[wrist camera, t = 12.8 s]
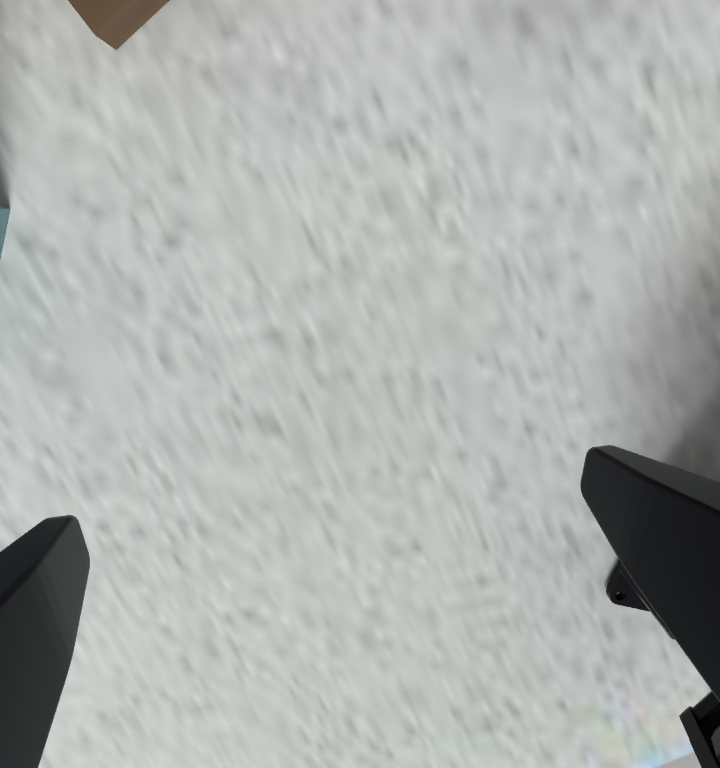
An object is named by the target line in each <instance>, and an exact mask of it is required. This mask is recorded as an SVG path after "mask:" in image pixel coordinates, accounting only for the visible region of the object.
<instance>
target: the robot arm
mask: <svg viewBox="0 0 720 768" xmlns="http://www.w3.org/2000/svg"><path fill="white" fill-rule="evenodd" d="M581 492H582V495H583V497H584V499H585V501H586V503H587V505H588V506H589V508H590V510H591V512H592V513H593V515H594V517H595V518H596V520H597V522H598V524H599V525H600V527H601V529H602V531H603V532H604V534H605V536H606V538H607V539H608V541H609V543H610V545H611V546H612V548H613V550H614V552H615V553H616V555H617V557H618V558H619V560H620V561H621V562H620V564H619V566H618V567H617V569H616V571H615V573H614V575H613V577H612V579H611V581H610V583H609V585H608V586H607V589H606V594H607V596H608V597H609V599H610V600H611V601H612V602H613V603H614V604H617V605H622V606H627V607H631V608H636V609H641V610H645V611H650V612H651V613H652V614H653V616H654V617H655V618H656V620H657V621H658V622H659V623H660V625H661V626H662V627H663V629H664V630H665V631H666V633H667V634H668V635H669V636H670V637H671V638H672V639H675V640H676V641H677V643H678V644H679V645H680V647H681V648H682V650H683V651H684V652H685V654H686V655H687V657H688V658H689V659H690V661H691V662H692V664H693V665H694V666H695V668H696V669H697V671H698V672H699V673H700V675H701V676H702V678H703V679H704V680H705V682H706V683H707V685H708V686H709V687H710V689H711V690H712V691H711V692H710V693H708V694H707V695H706V696H705V697H704V698H703V699H702V700H701V701H700V702H698V703H697V704H696V705H695V706H694V707H691V706H689V707H688V708H687V709H686V710H685V711H684V712H683V713H682V714H681V715H680V719H681V721H682V723H683V726H684V728H685V730H686V732H687V735H688V737H689V740H690V743H691V745H692V747H693V749H694V752H695V754H696V756H697V758H698V760H699V762H700V765H701V767H702V768H720V483H719V482H716V481H713V480H710V479H708V478H705V477H702V476H699V475H696V474H693V473H690V472H687V471H685V470H682V469H679V468H676V467H673V466H670V465H667V464H664V463H662V462H659V461H656V460H653V459H650V458H647V457H644V456H641V455H639V454H636V453H633V452H630V451H627V450H624V449H621V448H619V447H616V446H612V445H606V446H599V447H592V448H591V449H589V450H588V452H587V454H586V458H585V463H584V468H583V473H582V478H581ZM89 568H90V557H89V552H88V549H87V546H86V543H85V540H84V537H83V533H82V530H81V527H80V524H79V521H78V520H77V518H76V517H74V516H72V515H67V516H59V517H51V518H47V519H45V520H43V521H42V522H40V523H39V524H37V525H36V526H35V527H33V528H32V529H31V530H29V531H28V532H27V533H25V534H24V535H23V536H21V537H20V538H18V539H17V540H16V541H14V542H13V543H12V544H10V545H9V546H8V547H6V548H5V549H4V550H2V551H1V552H0V768H38V766H39V763H40V760H41V757H42V753H43V750H44V747H45V744H46V741H47V738H48V734H49V731H50V728H51V725H52V722H53V719H54V715H55V712H56V709H57V706H58V703H59V699H60V696H61V693H62V690H63V687H64V684H65V680H66V677H67V674H68V670H69V667H70V663H71V660H72V655H73V651H74V646H75V641H76V636H77V631H78V626H79V620H80V615H81V610H82V605H83V600H84V595H85V589H86V584H87V579H88V574H89ZM618 592H620V593H618ZM617 593H618V594H617Z"/></svg>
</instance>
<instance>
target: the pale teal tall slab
mask: <svg viewBox="0 0 720 768" xmlns="http://www.w3.org/2000/svg"><path fill="white" fill-rule="evenodd" d="M9 212H10V209H9V208H6V207H4V206H1V205H0V258H1V253H2V248H3V242H4V237H5V232H6V227H7V222H8V217H9Z"/></svg>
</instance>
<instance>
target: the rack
mask: <svg viewBox="0 0 720 768" xmlns="http://www.w3.org/2000/svg"><path fill="white" fill-rule="evenodd" d="M68 1H69V2H70V3H71V5H72V6H73V7H74V8H75V10H76V11H77V12H78V14H79V15H80V16H81V17H82V19H83V20H84V21H85V23H86V24H87V25H88V26H89V28H90V29H91V30H92V32H93V33H94V34H95V35H96V36H97V37H99V38H100V39H101V40H103V41H104V42H106V43H107V44H109V45H110V46H111V47H113V48H114V49H116V50H117V49H118V48H119V47H120V46H121V45H122V44H123V43H124V42H125V41H126V40H127V39H128V38H129V37H130V36H132V35H133V34H134V33H135V32H136V31H137V30H138V29H139V28H140V27H141V26H142V25H143V24H144V23H146V22H147V21H148V20H149V19H150V18H151V17H152V16H153V15H154V14H155V13H156V12H157V11H158V10H159V9H161V8H162V7H163V6H164V5H165V4H166V3H167V2H168V1H169V0H68Z"/></svg>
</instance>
